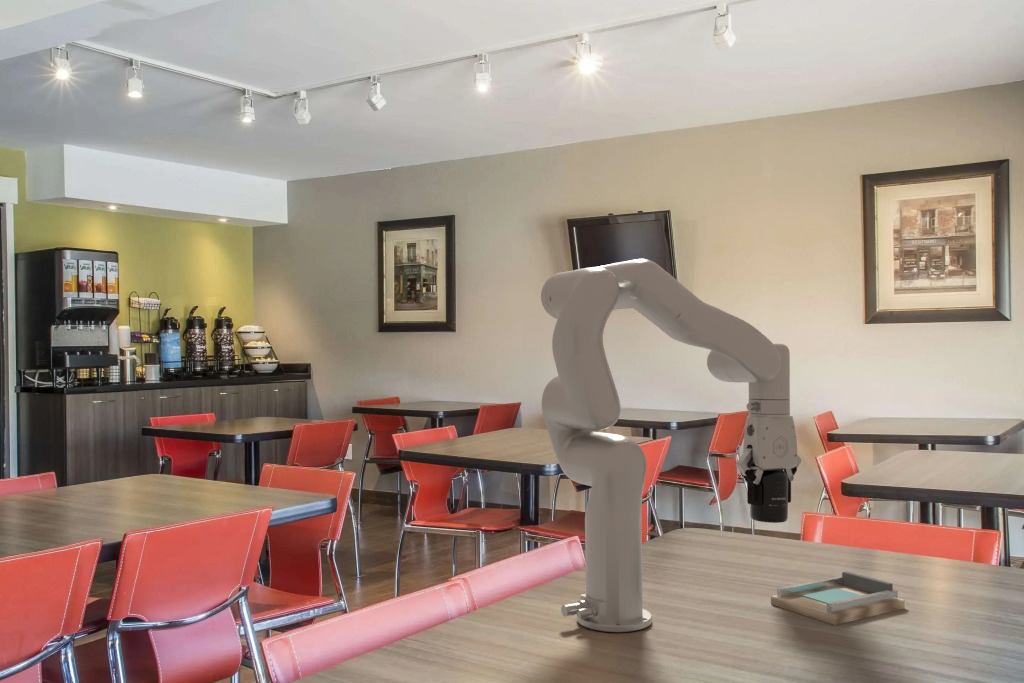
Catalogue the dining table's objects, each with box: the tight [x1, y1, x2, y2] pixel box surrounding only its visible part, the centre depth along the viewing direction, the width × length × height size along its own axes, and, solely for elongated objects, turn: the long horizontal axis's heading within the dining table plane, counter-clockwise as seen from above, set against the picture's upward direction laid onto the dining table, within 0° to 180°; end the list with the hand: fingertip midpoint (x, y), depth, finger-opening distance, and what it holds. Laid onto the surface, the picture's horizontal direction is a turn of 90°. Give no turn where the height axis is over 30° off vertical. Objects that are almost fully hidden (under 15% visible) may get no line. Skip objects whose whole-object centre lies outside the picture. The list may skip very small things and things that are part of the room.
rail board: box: [770, 571, 906, 626], centre depth 154 cm, size 18×14×4 cm
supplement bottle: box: [749, 469, 789, 524], centre depth 163 cm, size 7×7×12 cm
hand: (769, 502), depth 163 cm, fingers closed on supplement bottle, 6 cm apart
